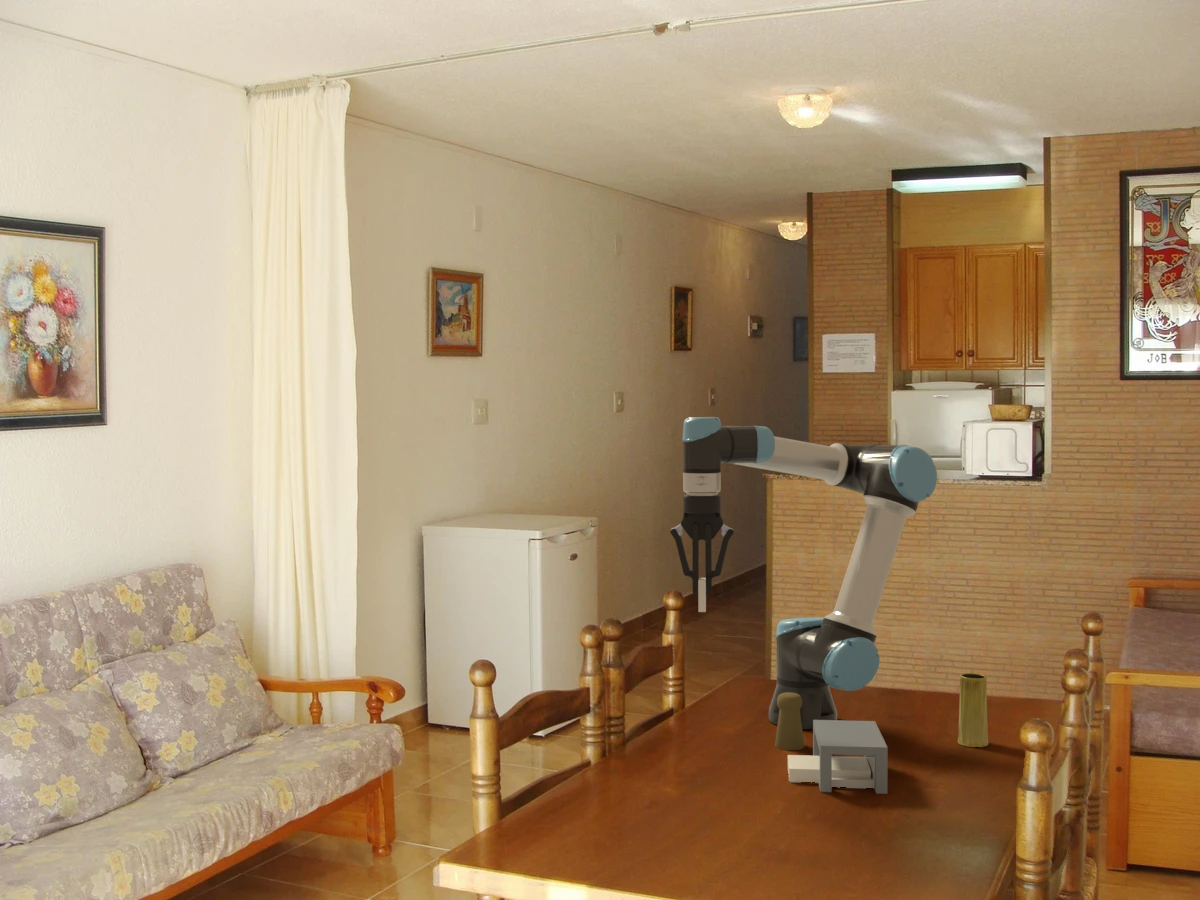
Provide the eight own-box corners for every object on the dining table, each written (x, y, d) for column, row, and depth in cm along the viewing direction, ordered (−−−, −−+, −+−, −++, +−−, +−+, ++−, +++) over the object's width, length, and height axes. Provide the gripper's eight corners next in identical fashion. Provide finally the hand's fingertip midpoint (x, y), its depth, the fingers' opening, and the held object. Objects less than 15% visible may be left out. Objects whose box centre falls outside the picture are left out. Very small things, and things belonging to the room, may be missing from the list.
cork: (803, 742, 248) (803, 690, 247) (805, 750, 242) (805, 697, 241) (774, 741, 248) (774, 689, 248) (775, 749, 242) (775, 696, 242)
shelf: (813, 762, 234) (813, 719, 233) (874, 763, 233) (875, 721, 232) (820, 791, 216) (820, 745, 216) (887, 793, 215) (887, 747, 214)
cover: (787, 770, 231) (787, 754, 231) (866, 772, 229) (866, 757, 229) (789, 784, 222) (789, 768, 222) (870, 786, 220) (870, 771, 220)
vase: (992, 747, 243) (992, 679, 242) (962, 747, 243) (962, 679, 243) (983, 739, 249) (983, 672, 249) (953, 739, 249) (954, 672, 249)
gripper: (668, 495, 234) (669, 613, 235) (734, 495, 233) (735, 614, 233) (670, 492, 241) (670, 607, 242) (734, 492, 240) (734, 608, 241)
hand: (702, 610), depth 238 cm, fingers closed
